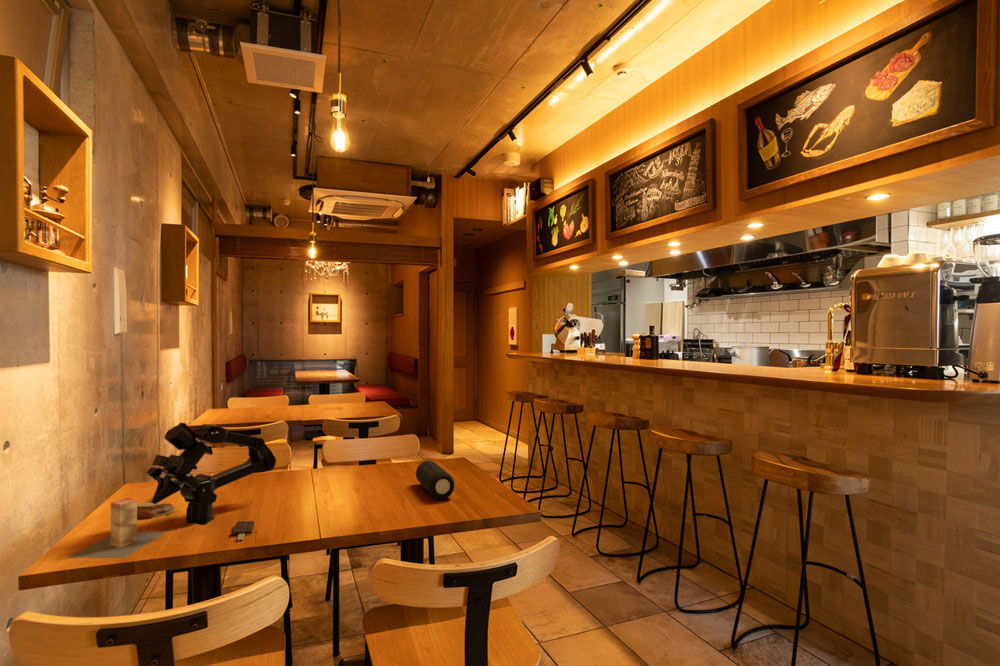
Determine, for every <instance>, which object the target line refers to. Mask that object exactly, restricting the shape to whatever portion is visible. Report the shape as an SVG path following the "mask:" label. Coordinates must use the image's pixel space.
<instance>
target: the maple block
mask: <svg viewBox="0 0 1000 666" xmlns="http://www.w3.org/2000/svg"><path fill="white" fill-rule="evenodd" d="M137 505H138V500H137V499H134V498H129V497H127V498H123V499H118V500H115V501H111V502H110V545H113V546H116V547H119V548H120V547H123V546H126V545H129V544H133V543H136V541H137V532H138V526H137V525H138V523H137V522H138V518H137Z"/></svg>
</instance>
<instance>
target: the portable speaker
mask: <svg viewBox="0 0 1000 666" xmlns="http://www.w3.org/2000/svg"><path fill="white" fill-rule="evenodd" d="M415 477H416V479H417V482H418V483H420V484H421V486H422V487H423V488H425V490H426V491H427V492H428V493H429V494H430V495H431V496H432V497H433V498H435V499H437V500H443V499H446V498H448V497H451V495H452V494H453V492H454V490H455V480H454V478H453V476H452V475H451V474H450V473H448V472H447V471H446V470H445V469H443V468H442V467H440V465H438V463H436V462H434V461H432V460H425V461H422V462H421V463H420V464H419V465H418V466H417V468H416V470H415Z"/></svg>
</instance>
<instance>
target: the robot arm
mask: <svg viewBox="0 0 1000 666" xmlns="http://www.w3.org/2000/svg"><path fill="white" fill-rule="evenodd" d="M164 440H166V441H167V442H168V443H169V444H170V445H172V446H173V447H174V448H175V449H176V450H178V451H182V452H181V453H180V454H179V455H176V454H170V455H169V456H164V455H160V454H156V455H155V457H154V460H153V461H152V464H151V465H152V467H149V469H147V471H146V474H147V475H148V476H149V477H151V478H152V479H153V480H154V481H156V482H157V486H156V490H155V492H154V494H153V497H152V498H153V499H152V501H151V502H152V503H153V504H156V503H161V502H162V501H164V500H165V499H166V498H168V497H170V496H173V495H174V494H176V493H178V492H179V493H180V495H181V497H182V498H183V499H184V502H185V503H187V507H186V510H185V511H186V515H185V516H186V517H185V518H186V520H185V522H184V524H195V525H206V524H208V523H210V522H211V521H212V520H214V519H215V518H216V516H215V515H214V516H213V503H216V500H217V497H218V495H217V494H216V493H215V491H216V490H217V489H218V488H221V487H224V486H226V485H228V484H231V483H234V482H235V481H237V480H240V479H242V478H246V477H247V476H249V475H252V474H257V473H265V472H270V471H272V470H273V469H275V466H276V464H277V458H276V457H275V455H274V453H273V451H272V450H271V449H270V448H269V446H268V445H267V444H266V442H265V440H264V439H263V438H262V437H260V436H253V435H247V434H243V433H242V434H241V433H237V432H232V431H230V430H228V429H227V428H224V427H222V426H220V425H215V424H208V423H207V424H206V423H203V424H201V425H200V426H199V427H198V428H196V429H191V428H190V427H189V425H188V424H186V423H185V422H179V423H178V424H177V425H175V426H172V428H170V429H168V430H167V431H166V433H165V435H164ZM206 443H209V444H225V443H226V444H227V443H228V444H233V445H238V446H245V447H247V448H248V459H247V460H246V461H245V462H243V463H240V464H238V465H235V466H233V467H230V468H228V469H226V470H223V471H220V472H218V473H215V474H213V475H210V474H209V475H208V474H204V473H198V474H196V475H193V474H192V473H191V472H192V471H193V470H195V471H197V470H198V466H197V465H198V463H200V461H201V459H202V458H203V457H204V455H213V454H214V452H213V446H212V445H207V444H206Z"/></svg>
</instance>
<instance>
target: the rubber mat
mask: <svg viewBox="0 0 1000 666" xmlns="http://www.w3.org/2000/svg"><path fill="white" fill-rule="evenodd" d="M166 533H167V531H137V541H136V543H133V544H129V545H126V546H123V547H120V548H119V547H116V546H113V545H110V535H111V534H110V535H108V536H106V537H104V538H102V539H100V540H98V541H96V542H94V543H93V544H92V543H91V544H90V545H89V546H87V547H84V548H83V549H81V550H79V551H77V552H75V553H73V554H72V555H69V556H68V557H67V558H71V559H72V558H74V559H75V558H76V559H77V558H82V559H83V558H87V559H88V558H92V559H93V558H94V559H98V558H101V559H102V558H105V559H106V558H111V559H112V558H119V559H120V558H123V559H124V558H126V557H128V556H130V555H132V554H134V553H135V552H137V551H138V550H140V549H142V548H143V547H144V546H147V545H148V544H149V543H151V542H153V541H155V540H156V539H158V538H159V537H162V536H163V535H165V534H166Z"/></svg>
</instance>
